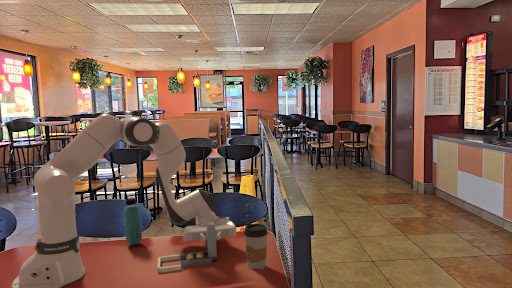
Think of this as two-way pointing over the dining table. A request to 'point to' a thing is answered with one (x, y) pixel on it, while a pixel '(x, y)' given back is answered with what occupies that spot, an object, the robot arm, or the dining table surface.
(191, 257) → the gold metallic ball
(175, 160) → the robot arm
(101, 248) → the dining table surface
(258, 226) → the coffee cup
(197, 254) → the brass sphere
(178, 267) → the ball tray
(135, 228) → the beverage bottle
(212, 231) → the tall gray pillar
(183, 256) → the slot rail
